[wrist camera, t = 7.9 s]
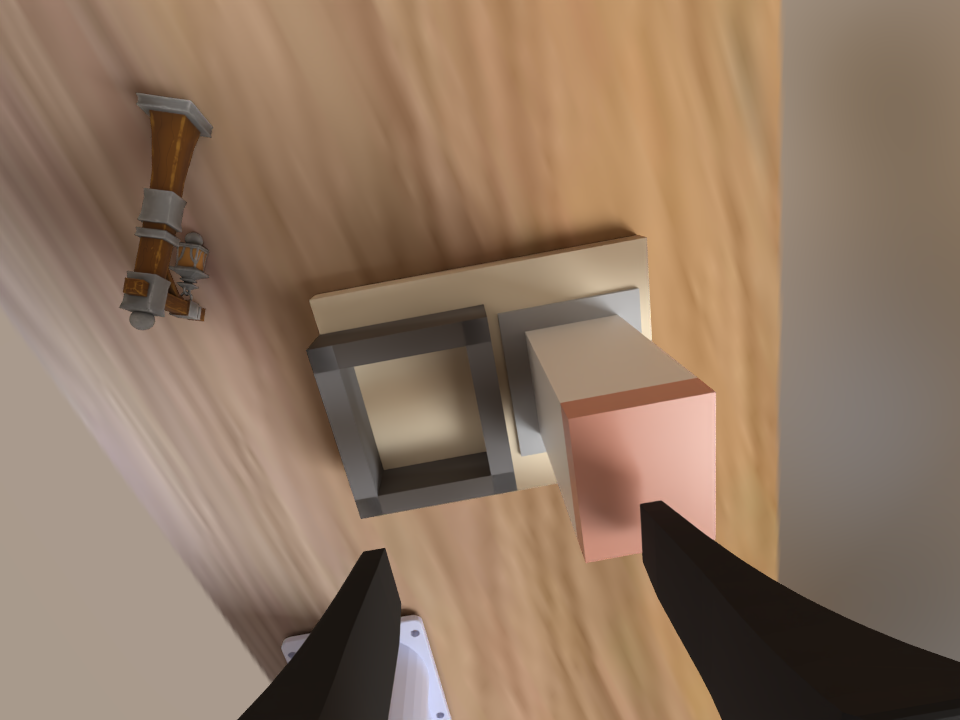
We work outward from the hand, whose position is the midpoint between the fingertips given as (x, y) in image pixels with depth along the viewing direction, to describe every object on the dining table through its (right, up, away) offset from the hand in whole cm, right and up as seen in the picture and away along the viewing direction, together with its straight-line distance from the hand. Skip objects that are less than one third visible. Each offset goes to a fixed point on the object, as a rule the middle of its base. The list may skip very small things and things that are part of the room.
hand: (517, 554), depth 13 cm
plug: (+3, +5, +8) cm, 10 cm away
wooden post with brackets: (-12, +11, +6) cm, 18 cm away
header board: (0, +4, +9) cm, 10 cm away
